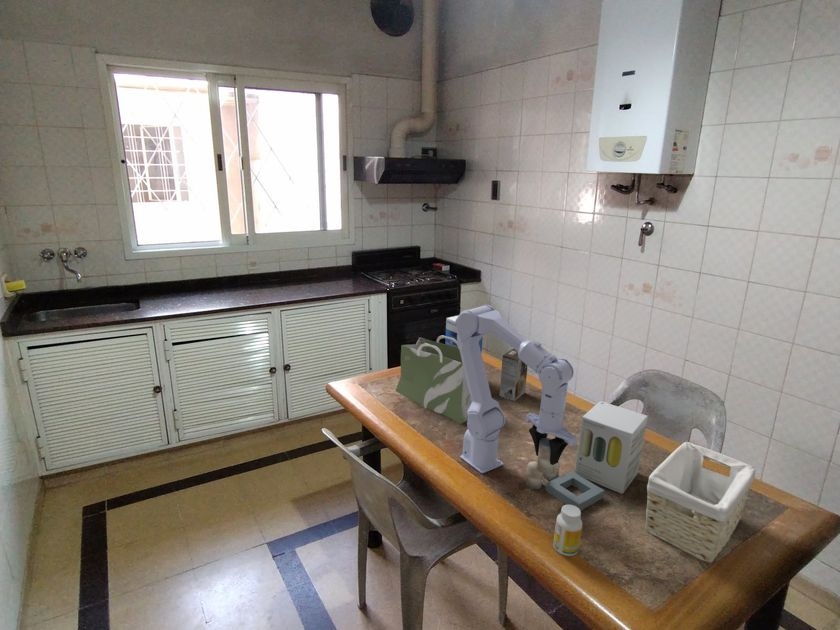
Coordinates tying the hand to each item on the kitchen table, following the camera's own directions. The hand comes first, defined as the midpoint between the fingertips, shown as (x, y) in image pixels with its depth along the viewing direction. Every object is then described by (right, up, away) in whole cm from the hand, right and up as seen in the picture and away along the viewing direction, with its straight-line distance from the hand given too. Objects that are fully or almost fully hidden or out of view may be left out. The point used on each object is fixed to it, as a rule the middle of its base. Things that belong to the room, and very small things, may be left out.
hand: (546, 458), depth 122 cm
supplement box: (+19, -8, +12) cm, 24 cm away
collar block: (+8, -10, +3) cm, 13 cm away
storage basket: (+32, -14, -7) cm, 36 cm away
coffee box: (+2, +6, +58) cm, 59 cm away
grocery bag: (-25, +5, +51) cm, 57 cm away
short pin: (+4, -8, +10) cm, 13 cm away
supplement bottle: (0, -15, -15) cm, 21 cm away
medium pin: (-2, -9, +7) cm, 11 cm away
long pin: (0, -3, +1) cm, 3 cm away
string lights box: (-15, +10, +69) cm, 71 cm away
